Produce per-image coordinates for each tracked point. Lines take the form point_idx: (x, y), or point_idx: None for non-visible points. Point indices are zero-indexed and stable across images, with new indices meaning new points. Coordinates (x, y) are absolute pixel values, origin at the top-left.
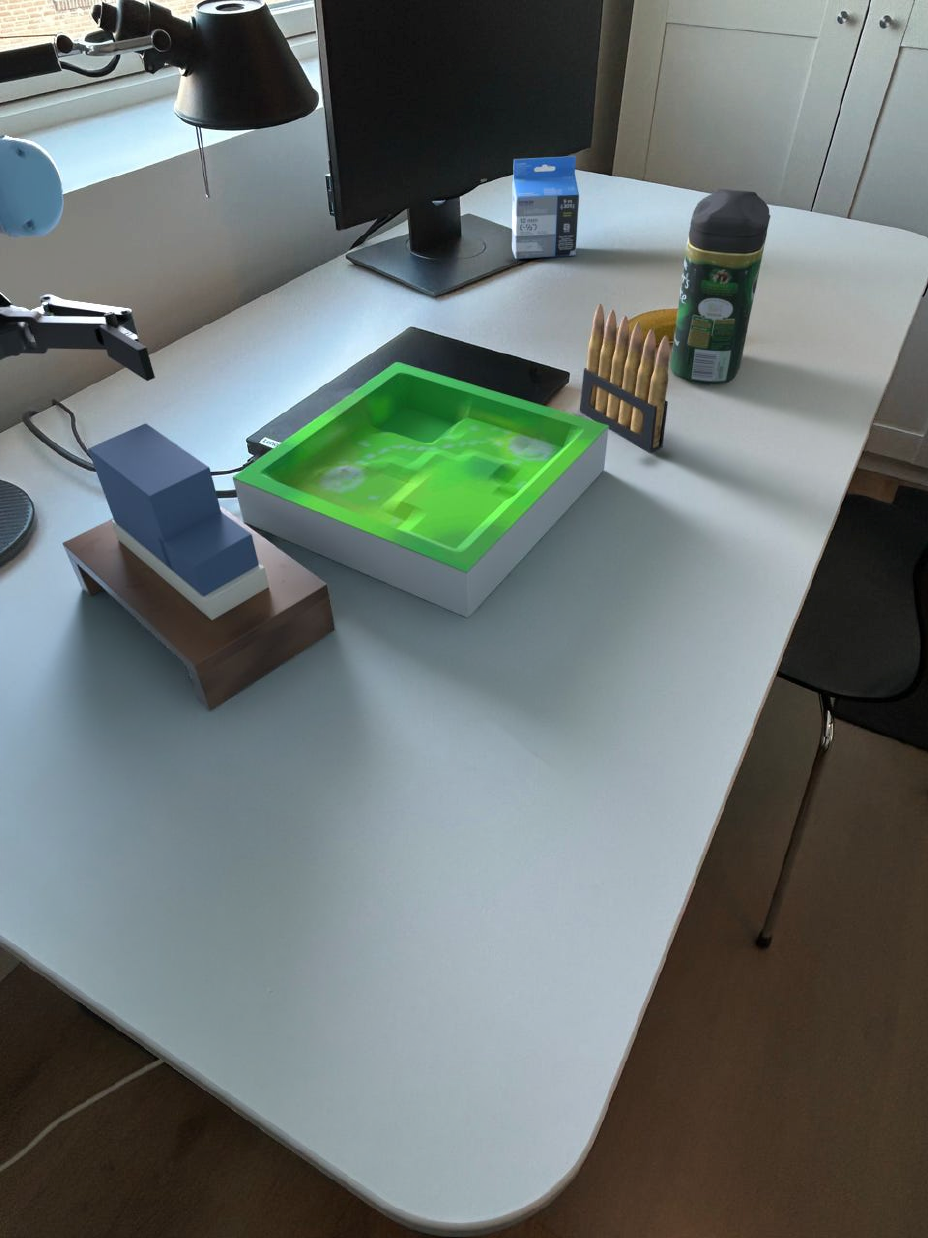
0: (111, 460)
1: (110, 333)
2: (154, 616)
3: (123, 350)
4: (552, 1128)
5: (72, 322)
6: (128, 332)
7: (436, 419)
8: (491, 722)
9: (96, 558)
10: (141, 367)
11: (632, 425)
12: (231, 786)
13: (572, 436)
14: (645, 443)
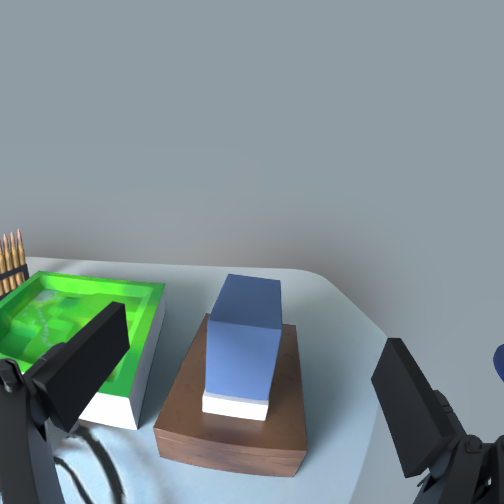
0: (275, 309)
1: (74, 354)
2: (292, 353)
3: (99, 351)
4: (295, 271)
5: (28, 455)
6: (41, 360)
7: (3, 340)
8: (214, 295)
9: (293, 415)
10: (125, 333)
11: (19, 283)
12: (304, 331)
13: (43, 280)
14: None
